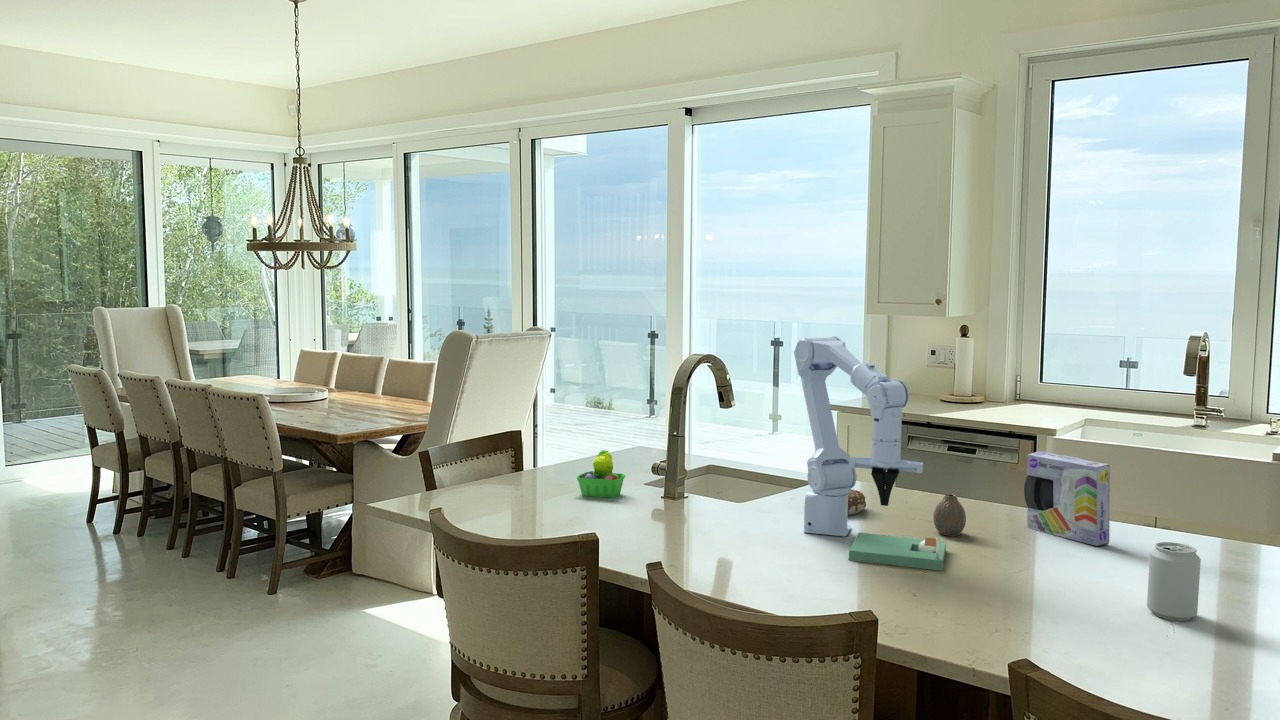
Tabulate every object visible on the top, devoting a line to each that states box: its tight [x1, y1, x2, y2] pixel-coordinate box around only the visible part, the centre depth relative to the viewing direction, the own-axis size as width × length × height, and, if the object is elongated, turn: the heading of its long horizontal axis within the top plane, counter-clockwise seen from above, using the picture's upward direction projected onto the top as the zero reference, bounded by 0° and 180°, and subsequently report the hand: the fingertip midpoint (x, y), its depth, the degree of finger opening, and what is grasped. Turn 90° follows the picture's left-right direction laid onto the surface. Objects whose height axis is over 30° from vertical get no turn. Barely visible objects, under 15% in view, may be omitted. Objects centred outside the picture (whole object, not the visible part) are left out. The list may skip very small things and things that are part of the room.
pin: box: [924, 536, 941, 559], centre depth 183 cm, size 3×1×6 cm, turn 69°
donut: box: [848, 488, 867, 516], centre depth 228 cm, size 14×14×5 cm
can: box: [1146, 541, 1202, 622], centre depth 158 cm, size 8×8×12 cm
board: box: [848, 532, 947, 571], centre depth 191 cm, size 18×14×2 cm
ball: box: [918, 540, 936, 553], centre depth 189 cm, size 4×4×4 cm
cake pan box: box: [1023, 451, 1111, 547], centre depth 205 cm, size 19×5×18 cm, turn 27°
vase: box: [932, 493, 967, 537], centre depth 207 cm, size 7×7×9 cm
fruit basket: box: [576, 449, 626, 499], centre depth 243 cm, size 11×9×11 cm
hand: (884, 504), depth 191 cm, fingers closed
